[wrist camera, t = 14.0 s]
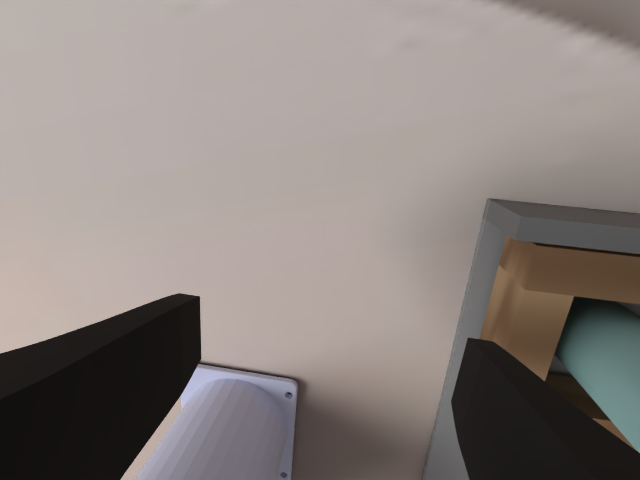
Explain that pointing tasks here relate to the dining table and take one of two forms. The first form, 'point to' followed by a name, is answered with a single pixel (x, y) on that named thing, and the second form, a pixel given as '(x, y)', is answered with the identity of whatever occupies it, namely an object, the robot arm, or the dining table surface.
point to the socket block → (554, 305)
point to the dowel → (605, 359)
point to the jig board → (498, 221)
